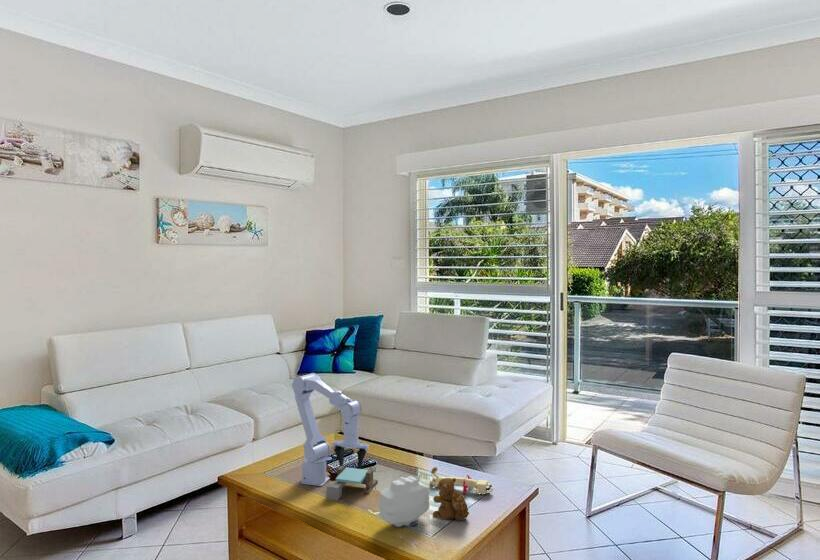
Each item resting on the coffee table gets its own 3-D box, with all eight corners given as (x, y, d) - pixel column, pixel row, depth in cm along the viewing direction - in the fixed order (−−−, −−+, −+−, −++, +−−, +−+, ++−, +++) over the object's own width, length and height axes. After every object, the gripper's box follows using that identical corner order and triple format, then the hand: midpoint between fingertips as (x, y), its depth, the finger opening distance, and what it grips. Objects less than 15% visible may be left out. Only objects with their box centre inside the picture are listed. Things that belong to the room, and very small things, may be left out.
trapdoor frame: (335, 488, 206) (335, 470, 206) (345, 478, 216) (345, 460, 215) (369, 493, 202) (369, 474, 202) (377, 482, 212) (377, 464, 212)
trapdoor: (335, 489, 201) (335, 478, 200) (346, 478, 211) (346, 467, 211) (359, 493, 198) (359, 481, 198) (369, 481, 209) (369, 470, 208)
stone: (326, 499, 197) (326, 486, 197) (330, 494, 201) (330, 481, 201) (337, 500, 196) (337, 487, 196) (341, 495, 200) (341, 482, 200)
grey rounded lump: (433, 521, 181) (433, 476, 180) (390, 537, 170) (391, 489, 170) (414, 509, 190) (414, 466, 189) (372, 523, 179) (373, 478, 178)
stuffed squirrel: (446, 505, 193) (446, 470, 193) (476, 518, 184) (477, 482, 183) (428, 514, 186) (428, 478, 186) (458, 528, 176) (459, 490, 176)
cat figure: (428, 493, 206) (490, 499, 197) (426, 471, 206) (488, 476, 197) (435, 483, 215) (495, 488, 207) (434, 462, 215) (493, 466, 207)
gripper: (329, 433, 200) (329, 468, 200) (364, 437, 196) (364, 472, 197) (336, 427, 207) (336, 461, 207) (371, 431, 203) (370, 465, 203)
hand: (350, 466), depth 202 cm, fingers open, 7 cm apart
